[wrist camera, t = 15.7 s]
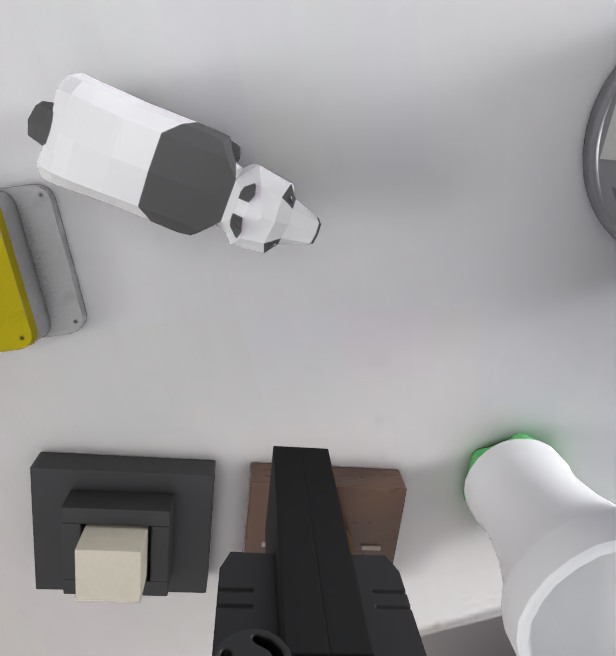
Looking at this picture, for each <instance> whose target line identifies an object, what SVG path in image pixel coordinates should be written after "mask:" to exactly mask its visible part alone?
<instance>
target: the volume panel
mask: <svg viewBox="0 0 616 656" xmlns="http://www.w3.org/2000/svg"><path fill="white" fill-rule="evenodd" d="M271 466H272V463H251V464H250V476H249V487H248V498H247V510H246V521H245V532H244V543H243V552H247V553H265V525H266V516H267V506H268V496H269V486H270V476H271ZM332 469H333V474H334V478H335V483H336V487H337V491H338V496H339V500H340V505H341V509H342V513H343V518H344V522H345V527H346V530H347V531H348V532H349V534H350V536H351V538H352V543H353V547H354V551H355V554H360V555H385V556H386V557H387V558H388V559H389V561H390V562H391V563H392V564H393V560H394V554H395V549H396V544H397V539H398V533H399V528H400V523H401V517H402V512H403V507H404V502H405V496H406V491H407V488H406V486H405V484H404V481H403V479H402V477H401V474H400V472H399V470H393V469H373V468H353V467H333V466H332Z"/></svg>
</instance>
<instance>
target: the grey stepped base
mask: <svg viewBox="0 0 616 656" xmlns="http://www.w3.org/2000/svg"><path fill="white" fill-rule="evenodd" d="M215 463H216V462H215V461H212V460H192V459H171V458H151V457H131V456H111V455H90V454H70V453H50V452H41V453H40V454H39V456H38V457H37V459H36V460H35V461H34V463H33V464H32V466H31V467H30V473H31V494H32V514H33V535H34V555H35V576H36V589H62V590H64V594H76V583H75V549H76V546H77V544H78V542H79V539H80V537H81V535H82V533H83V530H84V528H85V526H86V524H105V525H133V526H148V562H147V577H146V581H145V585H144V589H143V593H142V595H147V596H167V594H168V592H194V593H206V588H207V579H208V567H209V552H210V537H211V522H212V507H213V493H214V478H215Z"/></svg>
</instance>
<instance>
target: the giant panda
mask: <svg viewBox="0 0 616 656" xmlns="http://www.w3.org/2000/svg"><path fill="white" fill-rule="evenodd" d="M28 135H29V136H30V137H31V138H33V139H34V140H35V141H37V142H38V143H40V144H41V145H42V146H43V147H42V150H41V153H40V156H39V159H38V162H37V166H38V169H39V172H40V176H41V177H42V178H44V179H46V180H47V181H49V182H51V183H53V184H55V185H58V186H61V187H64V188H66V189H69V190H72V191H75V192H78V193H80V194H83V195H86V196H89V197H92V198H95V199H98V200H101V201H104V202H107V203H109V204H112V205H114V206H116V207H119V208H121V209H123V210H126V211H128V212H131V213H133V214H135V215H138V216H140V217H142V218H145V219H147V220H149V221H152V222H154V223H157V224H159V225H162V226H164V227H166V228H169V229H171V230H174V231H176V232H179V233H183V234H188V235H192V234H196V233H198V232H200V231H202V230H204V229H207V228H209V227H211V226H213V225H215V224H216V225H218V226H219V227H220V228H222V229H223V230H224V231H225V232H226V235H227V237H228V240H229V243H230V245H234V246H238V247H242V248H246V249H250V250H254V251H258V252H262V253H265V252H267V251H268V250H270V249H271V248H273V247H274V246H276V245H277V244H313V243H314V241H315V239H316V237H317V235H318V232H319V229H320V226H321V223H320V221H319V219H318V218H317V217H316V216H315V215H314V214H313V213H312V212H310V211H309V210H308V209H307V208H306V207H305V206H303V205H302V204H301V203H300V202H299V201H298V200H296V198H295V192H294V184H292V183H290V182H288V181H286V180H284V179H282V178H281V177H279V176H277V175H275V174H274V173H272V172H270V171H269V170H267V169H265V168H263V167H262V166H260V165H257V164H254V163H253V164H251V165H249V166H247V167H245V168H242V167H241V166H239V165H238V164H237V161H238V160H239V159H240V146H238V145H237V144H235V143H234V142H232V141H231V140H230V137H229V136H227V135H225V134H223V133H221V132H219V131H217V130H214V129H212V128H210V127H207V126H205V125H203V124H200V123H198V122H195V121H193V120H190V119H188V118H185V117H183V116H180V115H178V114H175V113H172V112H170V111H167V110H165V109H162V108H160V107H157V106H155V105H152V104H150V103H147V102H145V101H143V100H141V99H139V98H136V97H134V96H132V95H130V94H128V93H125V92H123V91H121V90H119V89H117V88H114V87H112V86H110V85H107V84H105V83H103V82H101V81H98V80H96V79H94V78H92V77H90V76H88V75H85V74H83V73H77V74H69V75H68V76H67V77H66V78H65V79H64V80H63V81H62V83H61V84H60V85H59V86H58V87H57V89H56V95H55V100H54V103H52V102H45V101H42V102H41V103H39V104H38V105H36V106H35V108H34V109H33V111H32V113H31V115H30V117H29V119H28Z"/></svg>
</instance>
